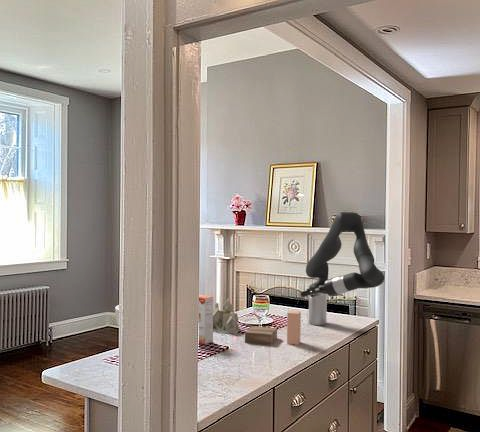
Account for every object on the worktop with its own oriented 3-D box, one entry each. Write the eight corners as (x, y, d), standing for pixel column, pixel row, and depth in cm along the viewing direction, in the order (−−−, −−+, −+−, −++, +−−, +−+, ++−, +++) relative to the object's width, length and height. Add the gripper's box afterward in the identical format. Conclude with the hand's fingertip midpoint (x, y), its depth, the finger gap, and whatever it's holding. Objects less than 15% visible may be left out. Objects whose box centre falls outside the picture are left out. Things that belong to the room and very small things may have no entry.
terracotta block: (289, 340, 226) (289, 310, 226) (300, 342, 224) (300, 311, 224) (287, 343, 221) (287, 312, 221) (298, 345, 220) (298, 313, 219)
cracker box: (182, 339, 227) (182, 294, 226) (191, 336, 231) (191, 292, 231) (204, 345, 218) (204, 298, 217) (213, 342, 223) (213, 296, 222)
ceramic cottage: (206, 325, 252) (208, 296, 251) (238, 326, 253) (240, 298, 252) (205, 335, 237) (207, 305, 236) (239, 336, 238) (241, 306, 236)
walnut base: (252, 336, 234) (252, 326, 234) (276, 338, 230) (277, 328, 230) (244, 343, 223) (245, 332, 222) (270, 345, 219) (270, 334, 219)
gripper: (342, 277, 219) (311, 287, 228) (328, 276, 208) (295, 286, 217) (347, 294, 217) (315, 303, 226) (332, 294, 206) (299, 303, 215)
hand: (306, 294), depth 221 cm, fingers open, 8 cm apart
